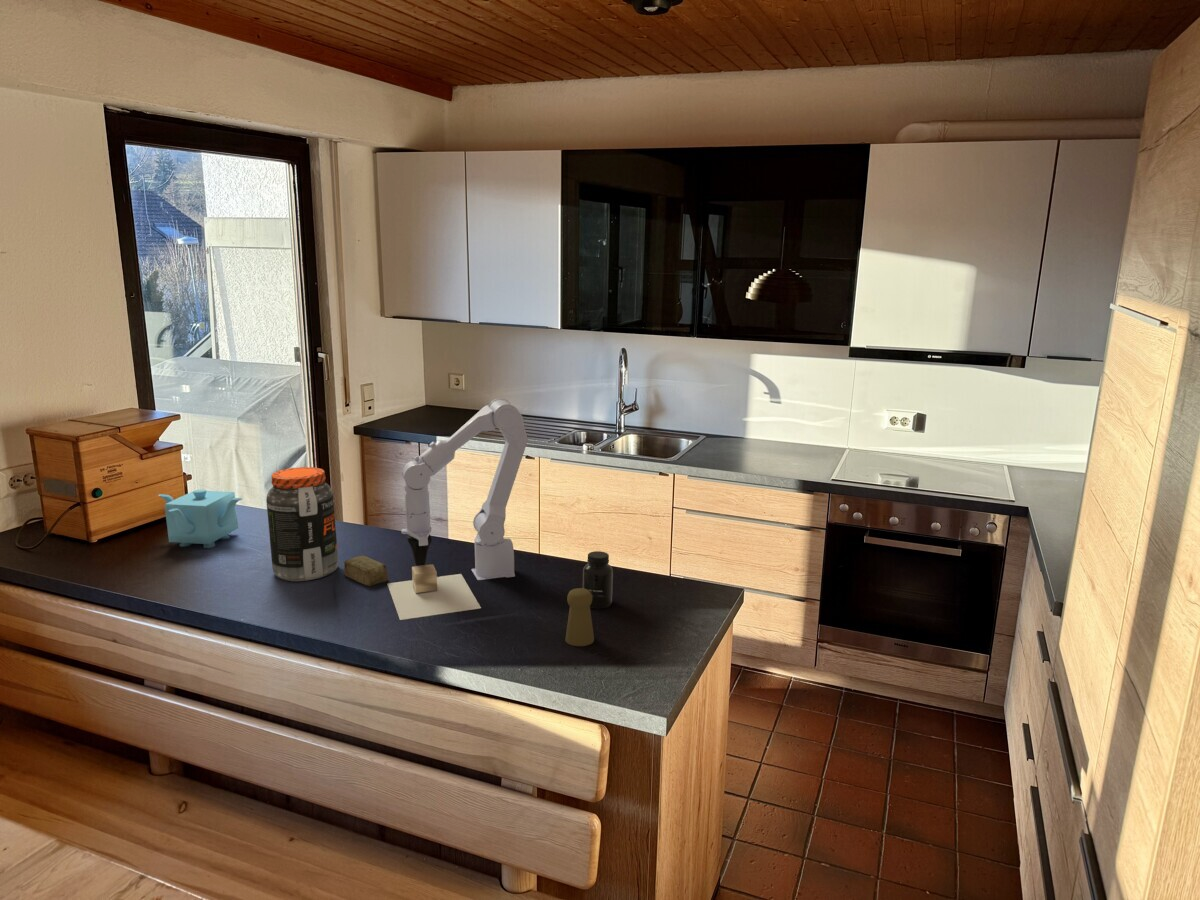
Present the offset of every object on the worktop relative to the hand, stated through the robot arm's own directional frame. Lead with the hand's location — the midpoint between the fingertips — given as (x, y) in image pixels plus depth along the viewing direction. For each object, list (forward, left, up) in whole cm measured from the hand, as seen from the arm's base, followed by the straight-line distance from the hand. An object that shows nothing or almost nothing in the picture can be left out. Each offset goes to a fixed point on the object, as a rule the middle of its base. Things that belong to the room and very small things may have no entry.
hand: (420, 564), depth 205 cm
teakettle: (+52, -50, -5) cm, 72 cm away
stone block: (+12, -6, -5) cm, 15 cm away
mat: (-1, +10, -5) cm, 11 cm away
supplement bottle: (-36, +27, -5) cm, 45 cm away
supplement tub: (+26, -17, -5) cm, 32 cm away
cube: (0, +6, -4) cm, 7 cm away
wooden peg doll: (-26, +43, -5) cm, 50 cm away
